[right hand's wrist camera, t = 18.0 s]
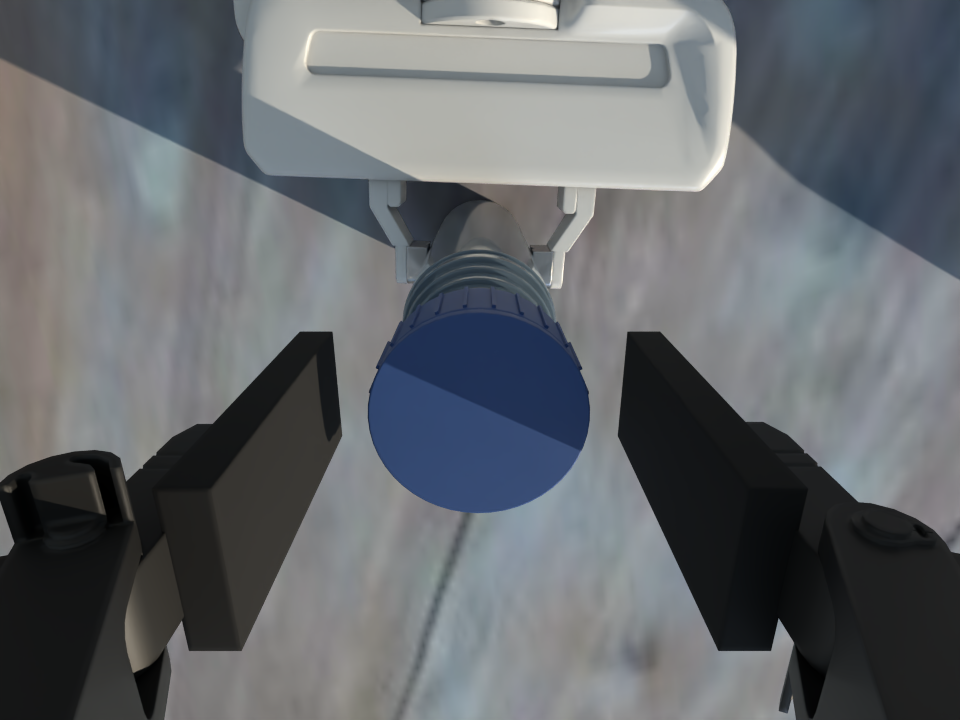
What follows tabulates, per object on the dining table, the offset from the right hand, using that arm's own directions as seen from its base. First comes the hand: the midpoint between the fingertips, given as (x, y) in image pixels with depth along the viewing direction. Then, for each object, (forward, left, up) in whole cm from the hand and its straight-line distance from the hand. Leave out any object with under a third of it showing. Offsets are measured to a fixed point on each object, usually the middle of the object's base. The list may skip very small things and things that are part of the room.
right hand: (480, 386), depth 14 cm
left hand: (0, -1, -14) cm, 14 cm away
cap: (0, 0, +1) cm, 1 cm away
